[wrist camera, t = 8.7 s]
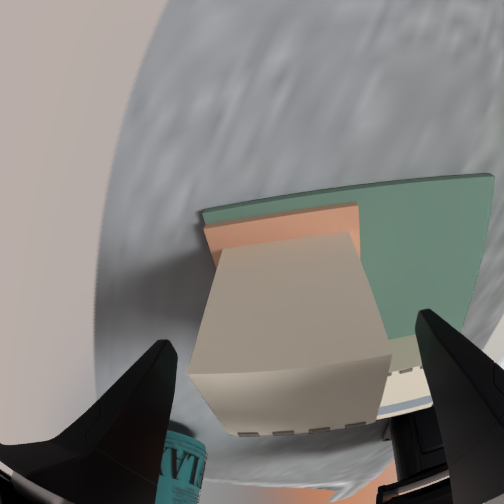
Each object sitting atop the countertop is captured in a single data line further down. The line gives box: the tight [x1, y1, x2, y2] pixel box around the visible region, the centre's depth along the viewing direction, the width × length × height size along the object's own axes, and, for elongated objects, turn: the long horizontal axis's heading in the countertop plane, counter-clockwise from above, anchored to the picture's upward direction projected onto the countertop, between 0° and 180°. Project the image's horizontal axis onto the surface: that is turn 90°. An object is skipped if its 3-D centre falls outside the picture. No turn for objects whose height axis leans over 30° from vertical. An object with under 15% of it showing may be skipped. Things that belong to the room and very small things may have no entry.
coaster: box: [203, 201, 360, 269], centre depth 13 cm, size 6×6×1 cm
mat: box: [202, 173, 495, 340], centre depth 15 cm, size 16×13×1 cm
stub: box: [187, 230, 392, 437], centre depth 10 cm, size 4×5×6 cm
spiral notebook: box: [376, 334, 433, 420], centre depth 15 cm, size 6×5×2 cm
